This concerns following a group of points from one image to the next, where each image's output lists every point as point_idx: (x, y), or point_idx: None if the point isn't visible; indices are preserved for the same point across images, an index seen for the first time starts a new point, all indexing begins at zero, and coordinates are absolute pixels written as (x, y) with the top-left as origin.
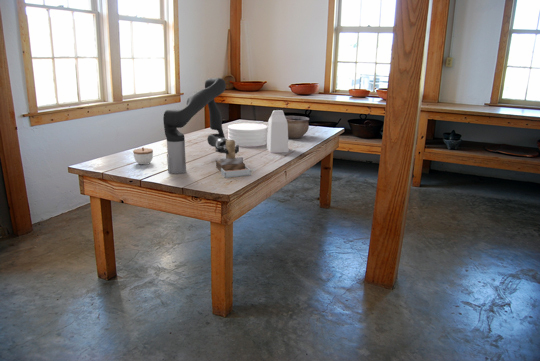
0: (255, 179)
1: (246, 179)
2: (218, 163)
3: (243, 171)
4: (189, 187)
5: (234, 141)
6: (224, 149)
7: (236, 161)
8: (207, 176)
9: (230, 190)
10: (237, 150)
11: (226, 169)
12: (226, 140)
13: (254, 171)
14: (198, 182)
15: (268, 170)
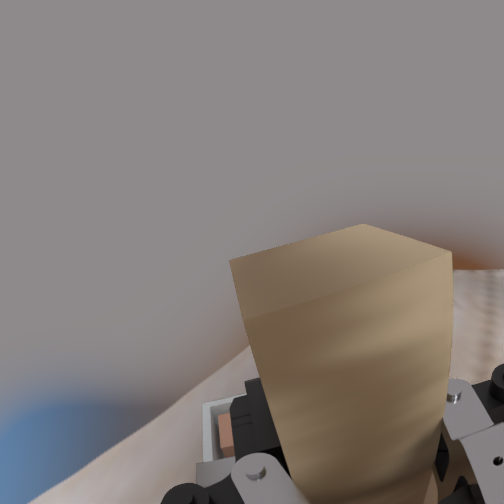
0: (214, 375)
1: (257, 372)
2: None
3: None
4: (472, 275)
5: (240, 257)
6: (451, 388)
7: None
8: (485, 373)
9: None
10: (231, 413)
11: None
12: (426, 249)
13: (161, 494)
14: (475, 308)
15: (74, 489)
